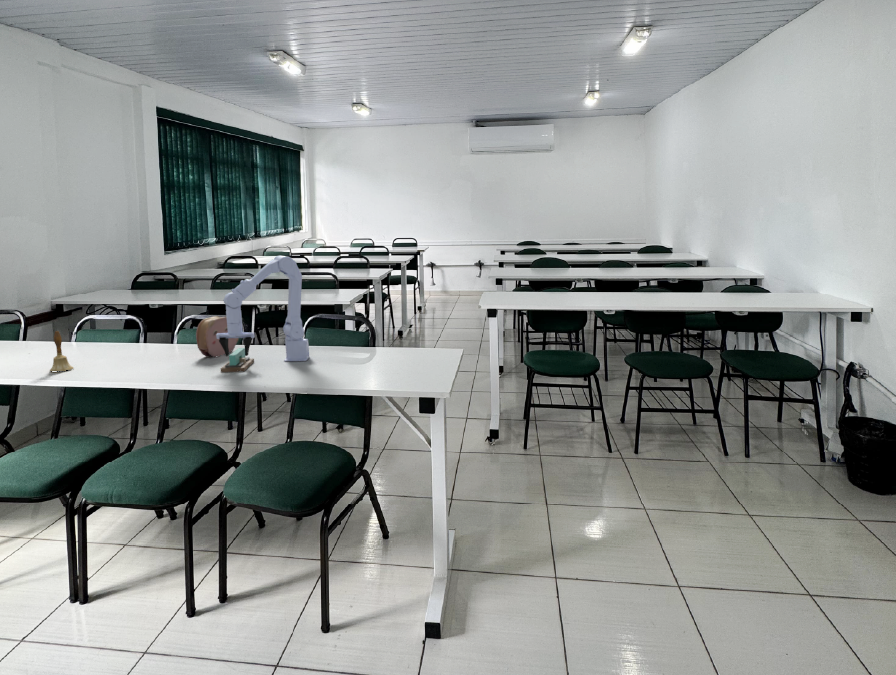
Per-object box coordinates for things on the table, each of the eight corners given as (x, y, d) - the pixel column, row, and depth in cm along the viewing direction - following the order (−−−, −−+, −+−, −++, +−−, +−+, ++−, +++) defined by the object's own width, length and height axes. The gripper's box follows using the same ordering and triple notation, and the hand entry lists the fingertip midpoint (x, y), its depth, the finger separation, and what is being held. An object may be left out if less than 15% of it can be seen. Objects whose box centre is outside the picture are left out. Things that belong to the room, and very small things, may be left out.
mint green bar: (239, 357, 248) (238, 348, 248) (245, 357, 249) (244, 347, 248) (229, 365, 235) (228, 355, 234) (235, 365, 235) (235, 355, 234)
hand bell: (51, 369, 241) (46, 330, 238) (75, 366, 244) (70, 328, 241) (47, 373, 234) (41, 333, 231) (71, 371, 237) (66, 332, 234)
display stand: (232, 362, 249) (231, 354, 249) (254, 361, 250) (253, 353, 249) (220, 372, 234) (220, 363, 233) (244, 371, 234) (243, 362, 234)
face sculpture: (209, 359, 255) (206, 321, 252) (196, 358, 257) (193, 320, 254) (240, 350, 273) (237, 314, 270) (227, 349, 276) (224, 313, 272)
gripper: (212, 324, 234) (215, 358, 237) (250, 323, 235) (252, 357, 238) (218, 321, 241) (221, 354, 244) (254, 320, 242) (257, 353, 245)
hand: (237, 355), depth 241 cm, fingers open, 7 cm apart
